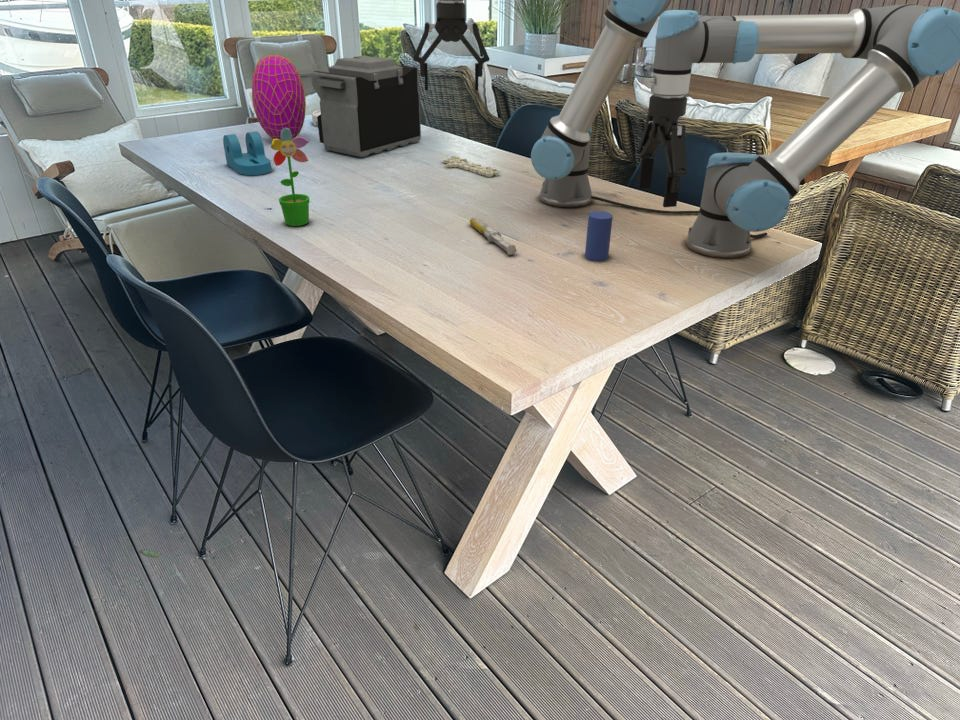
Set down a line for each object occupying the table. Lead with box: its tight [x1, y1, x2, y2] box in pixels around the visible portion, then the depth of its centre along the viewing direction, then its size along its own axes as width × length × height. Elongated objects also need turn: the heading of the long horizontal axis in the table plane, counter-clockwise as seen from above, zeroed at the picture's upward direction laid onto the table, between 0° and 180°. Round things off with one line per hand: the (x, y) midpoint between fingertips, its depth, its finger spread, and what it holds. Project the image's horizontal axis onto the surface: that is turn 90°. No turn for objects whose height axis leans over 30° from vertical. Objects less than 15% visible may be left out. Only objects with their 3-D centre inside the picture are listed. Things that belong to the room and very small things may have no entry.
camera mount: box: [222, 131, 272, 176], centre depth 226 cm, size 18×10×10 cm, turn 35°
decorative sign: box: [442, 155, 499, 178], centre depth 232 cm, size 26×1×10 cm
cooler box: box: [310, 55, 422, 159], centre depth 250 cm, size 37×22×30 cm, turn 144°
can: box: [584, 210, 614, 262], centre depth 163 cm, size 6×6×10 cm
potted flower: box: [270, 128, 310, 227], centre depth 177 cm, size 9×8×25 cm
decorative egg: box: [251, 54, 307, 141], centre depth 257 cm, size 19×19×30 cm
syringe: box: [469, 216, 518, 256], centre depth 174 cm, size 25×4×3 cm, turn 21°
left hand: (451, 89), depth 187 cm, fingers open, 13 cm apart
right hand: (656, 197), depth 151 cm, fingers open, 13 cm apart
